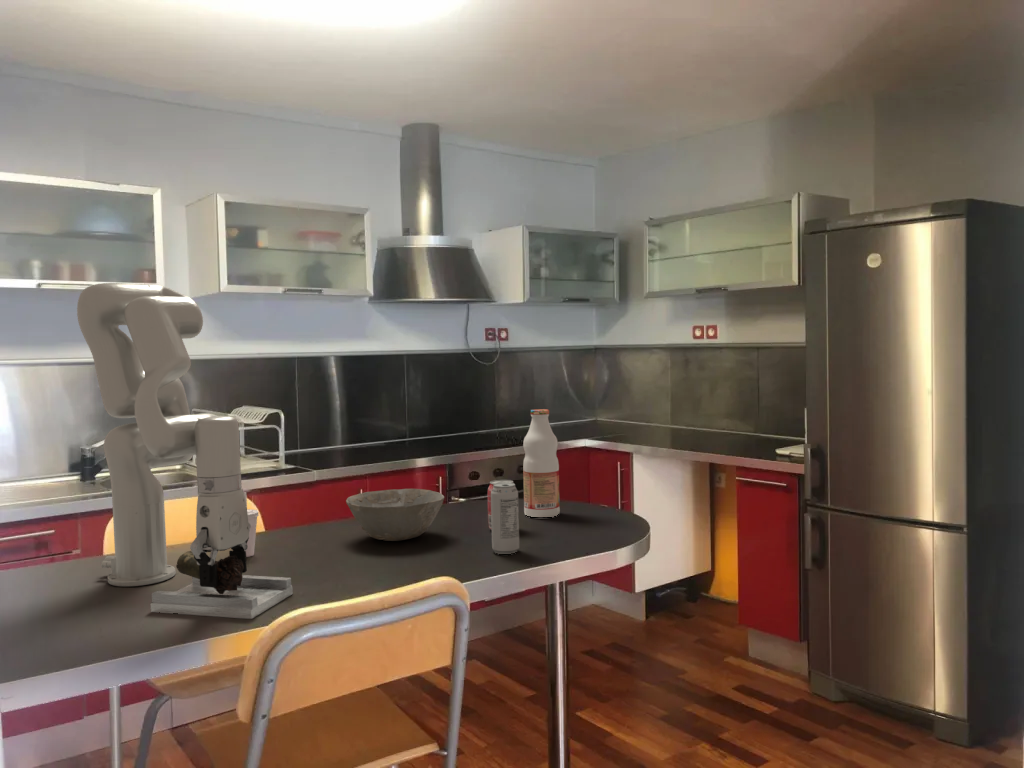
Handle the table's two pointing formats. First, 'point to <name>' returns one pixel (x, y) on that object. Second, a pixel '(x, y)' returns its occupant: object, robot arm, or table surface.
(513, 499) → the energy drink can
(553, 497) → the fruit juice
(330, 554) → the table surface
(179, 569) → the dark piece
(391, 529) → the ceramic bowl
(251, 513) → the smoothie
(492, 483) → the soda can
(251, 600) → the grey rectangular tray
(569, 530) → the table surface
